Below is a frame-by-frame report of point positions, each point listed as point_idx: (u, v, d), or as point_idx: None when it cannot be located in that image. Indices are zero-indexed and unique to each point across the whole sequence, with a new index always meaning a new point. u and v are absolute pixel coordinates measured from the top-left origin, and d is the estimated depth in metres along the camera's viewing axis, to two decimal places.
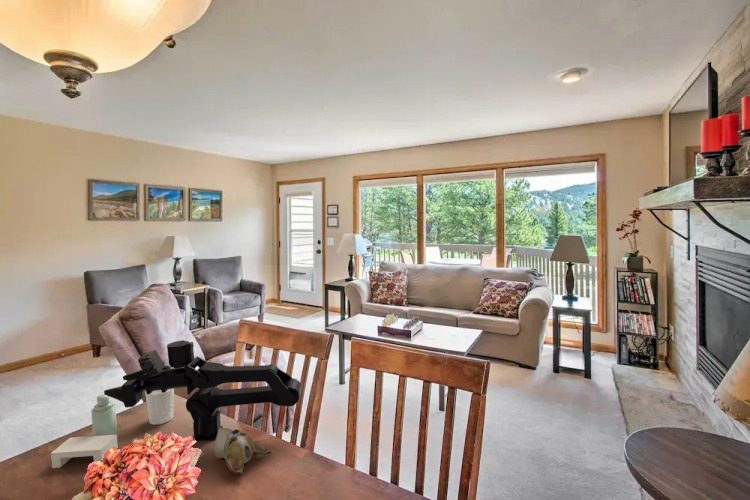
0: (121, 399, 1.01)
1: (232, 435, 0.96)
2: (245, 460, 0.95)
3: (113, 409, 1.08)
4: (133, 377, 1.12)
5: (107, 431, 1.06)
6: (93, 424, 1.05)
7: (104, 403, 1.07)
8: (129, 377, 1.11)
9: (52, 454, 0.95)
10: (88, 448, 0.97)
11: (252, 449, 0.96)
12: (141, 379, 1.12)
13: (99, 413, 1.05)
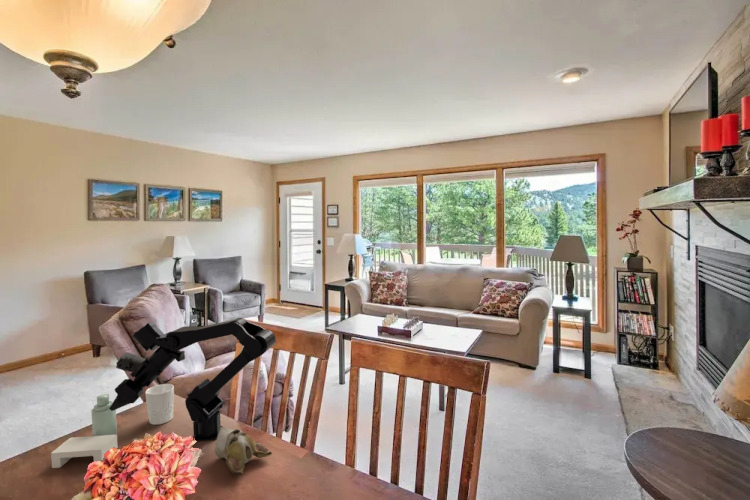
0: (127, 402, 1.03)
1: (233, 435, 0.96)
2: (246, 460, 0.95)
3: None
4: None
5: (107, 431, 1.06)
6: (93, 424, 1.05)
7: (104, 403, 1.07)
8: None
9: (52, 454, 0.95)
10: (88, 448, 0.97)
11: (253, 449, 0.96)
12: None
13: (99, 413, 1.05)
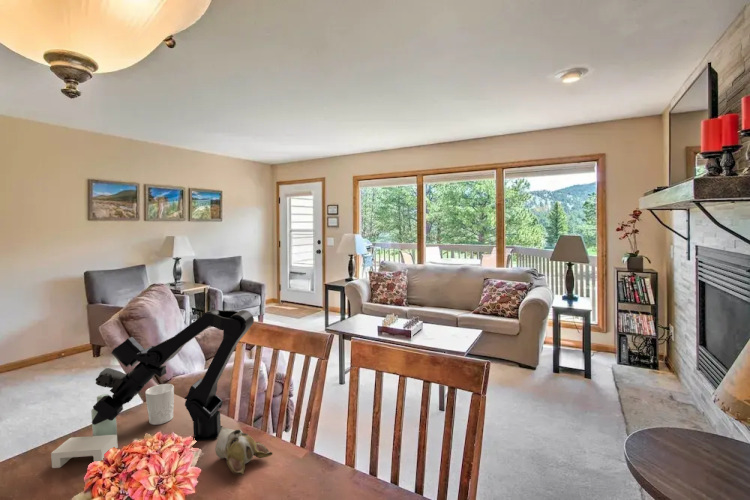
0: None
1: (233, 435, 0.96)
2: (246, 460, 0.95)
3: None
4: None
5: (107, 431, 1.06)
6: (93, 424, 1.05)
7: None
8: None
9: (52, 454, 0.95)
10: (88, 448, 0.97)
11: (253, 450, 0.96)
12: (119, 402, 1.11)
13: None
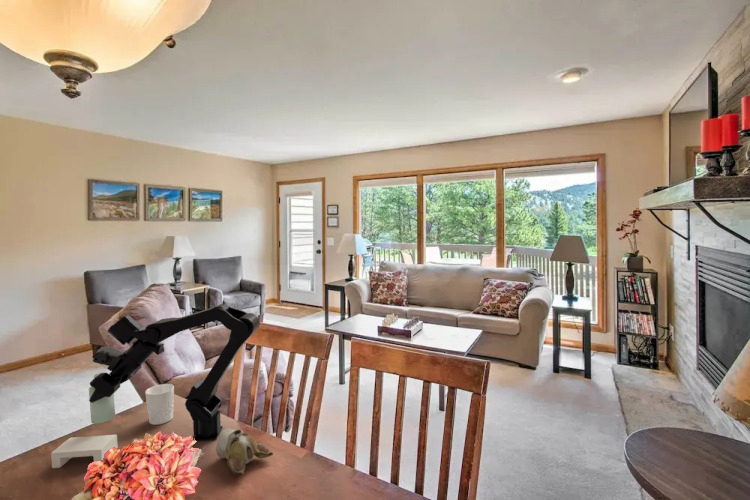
0: None
1: (234, 435, 0.96)
2: (247, 461, 0.95)
3: None
4: None
5: (105, 409, 1.05)
6: (90, 402, 1.04)
7: None
8: None
9: (52, 454, 0.95)
10: (88, 448, 0.97)
11: (254, 450, 0.96)
12: None
13: None
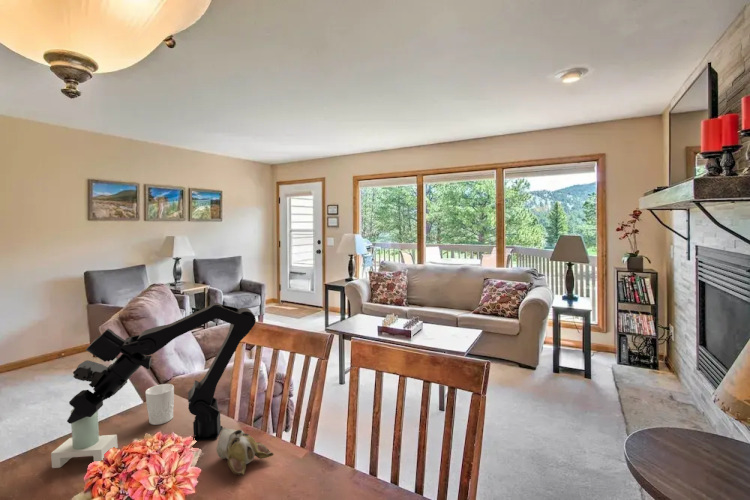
0: (86, 414, 0.94)
1: (235, 435, 0.96)
2: (247, 461, 0.94)
3: None
4: None
5: (88, 434, 0.98)
6: (72, 426, 0.97)
7: None
8: None
9: (52, 454, 0.95)
10: (88, 448, 0.97)
11: (254, 450, 0.96)
12: None
13: None
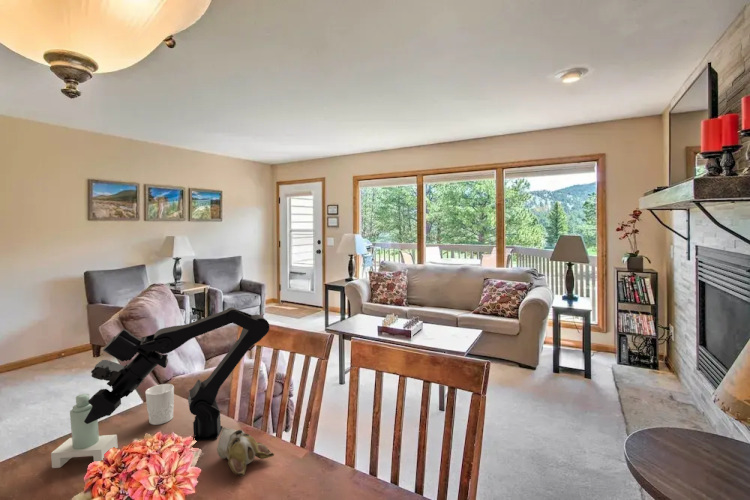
0: (103, 414, 0.94)
1: (235, 435, 0.96)
2: (248, 461, 0.94)
3: None
4: None
5: (87, 434, 0.98)
6: (72, 426, 0.97)
7: (84, 403, 0.98)
8: None
9: (52, 454, 0.95)
10: (88, 448, 0.97)
11: (255, 450, 0.96)
12: None
13: (78, 414, 0.96)
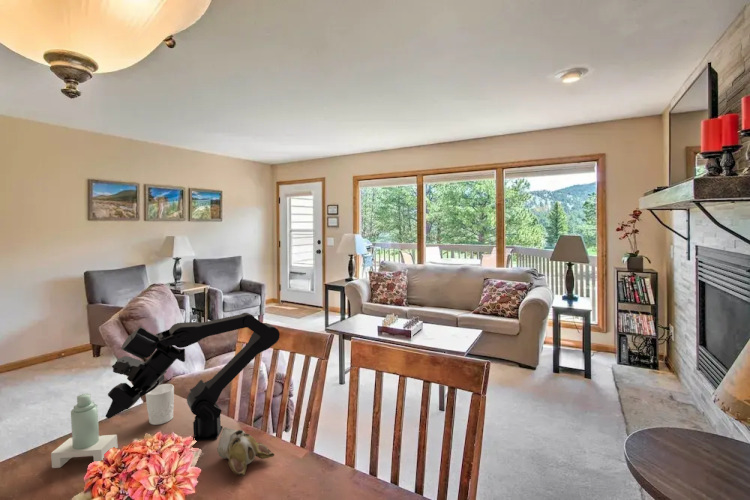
0: (122, 408, 0.95)
1: (235, 435, 0.96)
2: (248, 461, 0.94)
3: (95, 410, 0.99)
4: None
5: (88, 434, 0.98)
6: (72, 426, 0.97)
7: (85, 403, 0.98)
8: None
9: (52, 454, 0.95)
10: (88, 448, 0.97)
11: (255, 451, 0.96)
12: (142, 391, 1.06)
13: (79, 414, 0.96)
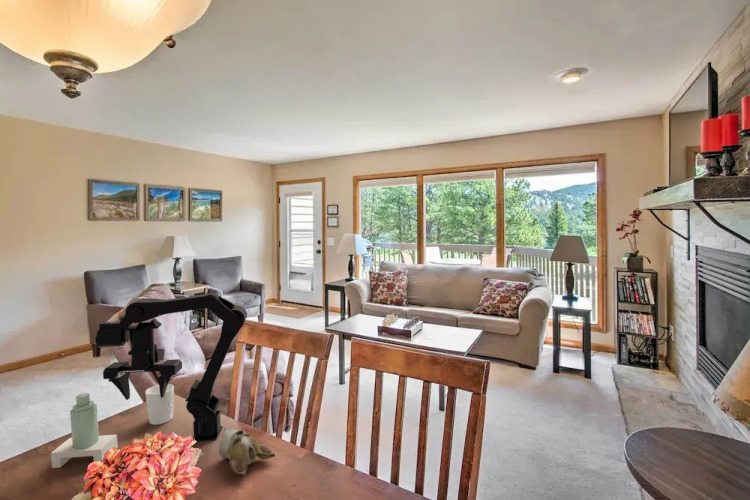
0: None
1: (236, 436, 0.96)
2: (249, 461, 0.94)
3: (94, 409, 0.99)
4: None
5: (87, 433, 0.98)
6: (72, 426, 0.97)
7: (84, 403, 0.98)
8: None
9: (52, 454, 0.95)
10: (88, 448, 0.97)
11: (256, 451, 0.96)
12: None
13: (78, 414, 0.96)
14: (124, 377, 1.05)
